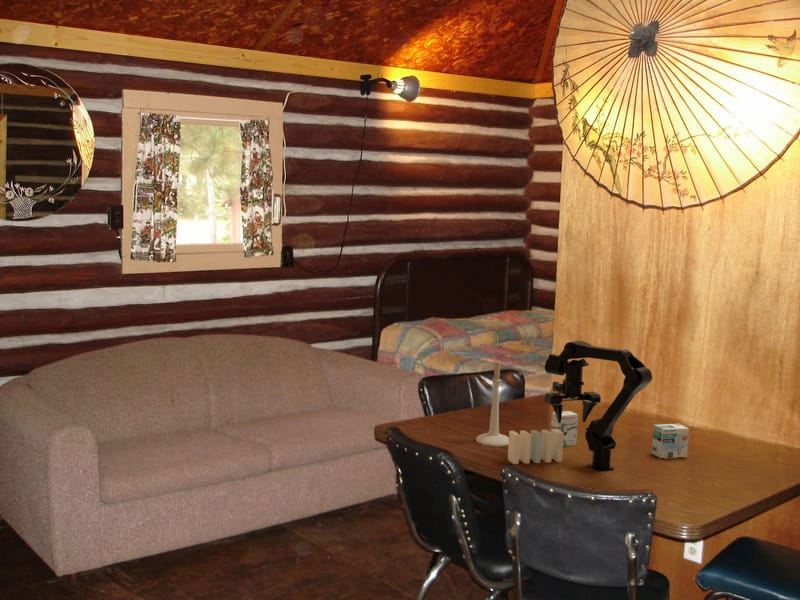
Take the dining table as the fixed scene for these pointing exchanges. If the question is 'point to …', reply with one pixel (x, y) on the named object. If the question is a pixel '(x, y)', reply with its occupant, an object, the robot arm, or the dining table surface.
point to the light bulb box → (670, 440)
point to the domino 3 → (535, 446)
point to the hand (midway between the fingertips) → (571, 422)
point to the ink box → (566, 426)
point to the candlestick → (494, 417)
